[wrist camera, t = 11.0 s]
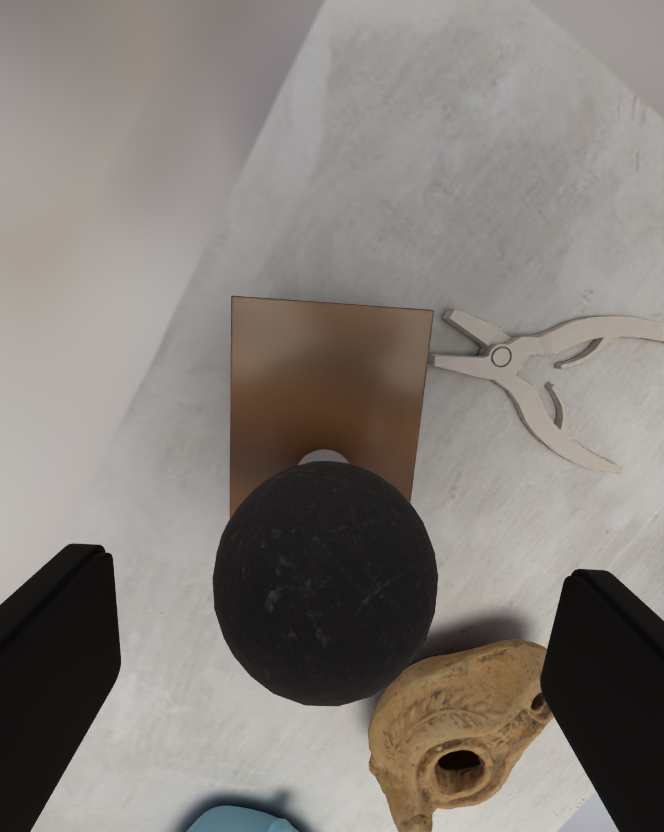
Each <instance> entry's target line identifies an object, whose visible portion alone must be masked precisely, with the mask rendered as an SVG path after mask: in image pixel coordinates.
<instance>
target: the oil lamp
mask: <svg viewBox="0 0 664 832" xmlns="http://www.w3.org/2000/svg"><path fill="white" fill-rule="evenodd" d="M546 652H547V649H546V648H544V647H543V646H541V645H538V644H536V643H534V642H529V641H524V640H519V639H510V640H504V641H499V642H496V643H492V644H488V645H485V646H481V647H478V648H473V649H470V650H465V651H461V652H457V653H453V654H447V655H440V656H433V657H429V658H426V659H423V660H421V661H418V662H416V663H414V664H413V665H411V666H409V667H408V668H406V669H405V670H404V671H403V672H402V673H401V674H400V675H399V676H398V677H397V678H396V679H395V680H394V681H393V682H391V683H390V684H389V686H388V687H387V689H386V690H385V692H384V693H383V695H382V696H381V698H380V700H379V702H378V704H377V706H376V708H375V710H374V713H373V715H372V717H371V720H370V725H369V729H368V737H369V749H370V751H371V757H370V761H369V770H370V772H371V773H372V774H373V775H374V776H375V777H376V779H377V781H378V783H379V784H380V786H381V789H382V791H383V793H384V794H385V795H386V798H387V801H388V804H389V808H390V811H391V815H392V817H393V820H394V823H395V825H396V827H397V829H398V832H431V831H432V813H433V812H434V811H435V810H436V809H437V808H440V809H453V808H456V807H465V806H473V805H477V804H480V803H482V802H484V801H486V800H488V799H489V798H491V797H492V796H493V795H494V794H495V793H496V792H498V791H499V790H500V789H501V787H502V786H503V784H504V783H505V781H506V780H507V778H508V776H509V774H510V772H511V770H512V768H513V767H514V765H515V764H516V763H517V761H518V760H519V759H520V757H521V755H522V754H523V751H524V750H525V749H526V748H527V747H528V746H529V744H530V743H531V742H532V741H533V740H534V739H535V738H536V737H537V736H538V735H539V734H540V733H541V732H542V730H543V729H544V727H545V726H546V725H547V724H548V723H549V722H550V721H551V719H552V718H553V717H554V716H553V714H552V712H551V710H550V708H549V707H548V705H547V703H546V701H545V699H544V697H543V695H542V692H541V687H540V677H541V673H542V668H543V664H544V660H545V656H546Z"/></svg>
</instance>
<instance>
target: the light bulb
mask: <svg viewBox="0 0 664 832" xmlns="http://www.w3.org/2000/svg"><path fill="white" fill-rule="evenodd" d="M437 583H438V572H437V566H436V559H435V553H434V550H433V547H432V544H431V541H430V539H429V536H428V534H427V531H426V529H425V526H424V523H423V521H422V520H421V518H420V517H419V515H418V514H417V512H416V511H415V509H414V508H413V506H412V505H411V504H410V503H409V502H408V501H407V499H406V498H405V497H404V496H403V495H402V494H401V493H400V492H399V490H398V489H397V488H396V487H394V486H393V485H392V484H390V483H389V482H387V481H386V480H384V479H383V478H382V477H381V476H379V475H377V474H375V473H373V472H370V471H368V470H366V469H363V468H361V467H358V466H355V465H352V464H349V462H348V461H347V460H346V459H345V458H344V457H343V456H342V455H341V454H339V453H337V452H335V451H332V450H326V449H324V450H316V451H314V452H311V453H309V454H308V455H306V456H305V457H304V458H303V459H302V460H301V461H300V463H299V464H298V466H294V467H291V468H288V469H286V470H284V471H282V472H279V473H277V474H276V475H274V476H272V477H270V478H268V479H267V480H265V481H264V482H263V483H261V484H260V485H259V486H258V487H256V488H255V489H254V490H253V491H252V492H251V493H250V494H249V495H248V496H247V498H246V499H245V500H244V501H243V502H242V503H241V504H240V506H239V507H238V508H237V509H236V511H235V513H234V514H233V516H232V517H231V519H230V520H229V522H228V524H227V526H226V528H225V530H224V532H223V534H222V537H221V540H220V544H219V547H218V550H217V555H216V562H215V568H214V574H213V592H214V608H215V612H216V615H217V618H218V621H219V624H220V627H221V631H222V634H223V637H224V639H225V641H226V643H227V645H228V646H229V648H230V650H231V652H232V654H233V655H234V657H235V658H236V659H237V660H238V662H239V663H240V664H241V665H242V666H243V667H244V669H245V670H246V671H247V672H248V673H249V674H250V676H251V677H252V678H254V679H255V680H256V681H258V682H259V683H260V684H262V685H263V686H264V687H265V688H267V689H268V690H269V691H271V692H272V693H273V694H276V695H278V696H281V697H284V698H287V699H289V700H292V701H295V702H298V703H300V704H303V705H312V706H340V705H344V704H348V703H351V702H354V701H357V700H361V699H364V698H367V697H371V696H372V695H374V694H375V693H377V692H378V691H380V690H381V689H383V688H384V687H386V686H387V685H388V684H390V683H391V682H393V681H394V680H395V679H396V678H397V677H398V676H399V675H400V674H401V673H402V672H403V671H404V670H405V668H406V667H407V666H408V665H409V664H410V663H411V662H412V661H413V660H414V659H415V657H416V655H417V653H418V652H419V650H420V648H421V647H422V645H423V643H424V642H425V640H426V637H427V634H428V631H429V628H430V625H431V622H432V619H433V616H434V614H435V605H436V596H437Z"/></svg>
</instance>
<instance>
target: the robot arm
mask: <svg viewBox="0 0 664 832" xmlns="http://www.w3.org/2000/svg"><path fill="white" fill-rule="evenodd" d="M120 666H121V654H120V641H119V629H118V616H117V604H116V591H115V579H114V566H113V558H112V555H111V554H110V553H105V549H104V548H103V546H101V545H91V544H69V545H67V546H66V547H64V548H63V549H62V550H61V551H60V552H59V553H58V554H57V555H55V556H54V557H53V558H52V559H51V560H50V561H49V562H48V563H47V564H45V565H44V566H43V567H42V568H41V569H40V570H39V571H38V572H37V573H35V574H34V575H33V576H32V577H31V578H30V579H29V580H28V581H27V582H25V583H24V584H23V585H22V586H21V587H20V588H19V589H18V590H16V592H14V593H13V594H12V595H11V596H10V597H9V598H7V599H6V600H5V601H4V602H3V603H2V604H1V605H0V832H30V831H31V829H32V828H33V826H34V824H35V822H36V821H37V819H38V817H39V815H40V814H41V812H42V810H43V808H44V807H45V805H46V803H47V801H48V800H49V798H50V796H51V794H52V793H53V791H54V789H55V787H56V786H57V784H58V782H59V780H60V779H61V777H62V775H63V773H64V772H65V770H66V768H67V766H68V764H69V763H70V761H71V759H72V757H73V756H74V754H75V752H76V750H77V749H78V747H79V745H80V743H81V742H82V740H83V738H84V736H85V735H86V733H87V731H88V729H89V728H90V726H91V724H92V722H93V721H94V719H95V717H96V715H97V714H98V712H99V710H100V708H101V707H102V705H103V703H104V701H105V700H106V698H107V696H108V694H109V693H110V691H111V689H112V687H113V686H114V684H115V682H116V680H117V677H118V674H119V671H120ZM540 687H541V692H542V695H543V697H544V699H545V701H546V703H547V705H548V707H549V708H550V710H551V712H552V714H553V716H554V717H555V719H556V721H557V723H558V724H559V726H560V728H561V730H562V731H563V733H564V735H565V737H566V738H567V740H568V742H569V744H570V746H571V747H572V749H573V751H574V753H575V754H576V756H577V758H578V760H579V761H580V763H581V765H582V767H583V769H584V770H585V772H586V774H587V776H588V777H589V779H590V781H591V783H592V784H593V786H594V788H595V790H596V791H597V793H598V795H599V797H600V798H601V800H602V802H603V804H604V806H605V807H606V809H607V811H608V813H609V814H610V816H611V818H612V820H613V821H614V823H615V825H616V827H617V829H618V830H619V832H664V621H663V620H662V619H661V618H660V617H659V616H658V615H657V614H655V613H654V612H653V611H652V610H651V609H650V608H649V607H648V606H647V605H646V604H644V603H643V602H642V601H641V600H640V599H639V598H638V597H637V596H636V595H635V594H634V593H632V592H631V591H630V590H629V589H628V588H627V587H626V586H625V585H624V584H623V583H621V582H620V581H619V580H618V579H617V578H616V577H615V576H614V575H613V574H611V573H610V572H608V571H604V570H588V569H577V570H575V571H574V572H573V573H572V574H571V576H568V577H567V578H566V579H565V581H564V584H563V588H562V592H561V596H560V600H559V604H558V608H557V612H556V616H555V620H554V624H553V628H552V632H551V636H550V640H549V644H548V648H547V652H546V656H545V660H544V664H543V668H542V673H541V677H540Z"/></svg>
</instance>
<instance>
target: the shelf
mask: <svg viewBox="0 0 664 832" xmlns="http://www.w3.org/2000/svg"><path fill="white" fill-rule="evenodd" d="M433 314H434V311H433V310H425V309H411V308H397V307H383V306H369V305H355V304H341V303H327V302H312V301H298V300H284V299H270V298H256V297H242V296H232V297H231V413H230V519H231V517H232V516H233V514H234V513H235V511H236V509H237V508H238V507H239V506H240V504H241V503H242V502H243V501H244V500H245V499H246V498H247V496H248V495H249V494H250V493H251V492H252V491H253V490H254V489H255V488H256V487H258V486H259V485H260V484H261V483H263V482H264V481H265V480H267V479H268V478H270V477H272V476H274V475H276V474H277V473H279V472H282V471H284V470H286V469H288V468H291V467H294V466H298V464H299V463H300V461H301V460H302V459H303V458H304V457H305V456H306V455H308V454H309V453H311V452H314V451H316V450H324V449H326V450H332V451H335V452H337V453H339V454H341V455H342V456H343V457H344V458H345V459H346V460H347V461H348V462H349V464H352V465H355V466H358V467H361V468H363V469H366V470H368V471H370V472H373V473H375V474H377V475H379V476H381V477H382V478H383V479H384V480H386V481H387V482H389V483H390V484H392V485H393V486H394V487H396V488H397V489H398V490H399V492H400V493H401V494H402V495H403V496H404V497H405V498H406V499H407V501H408V502H409V503H410V501H411V493H412V484H413V476H414V468H415V460H416V452H417V444H418V436H419V427H420V419H421V411H422V403H423V395H424V387H425V379H426V371H427V362H428V354H429V346H430V338H431V330H432V322H433Z"/></svg>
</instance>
